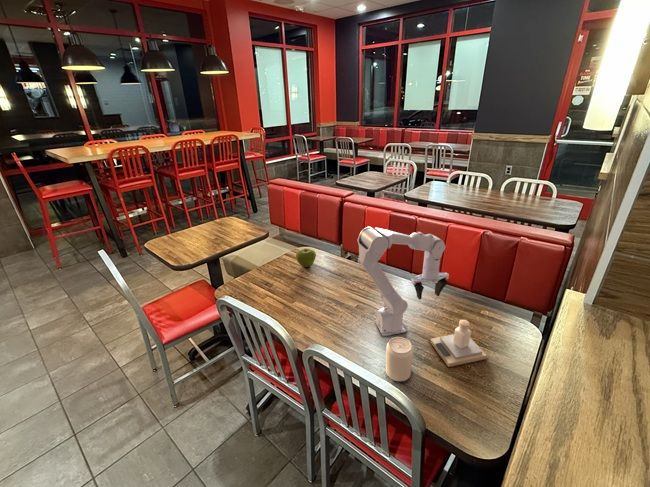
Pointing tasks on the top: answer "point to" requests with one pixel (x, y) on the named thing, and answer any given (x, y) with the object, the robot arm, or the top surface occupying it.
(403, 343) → the beverage can
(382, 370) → the top surface
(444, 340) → the scale
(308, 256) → the apple
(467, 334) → the pepper shaker
